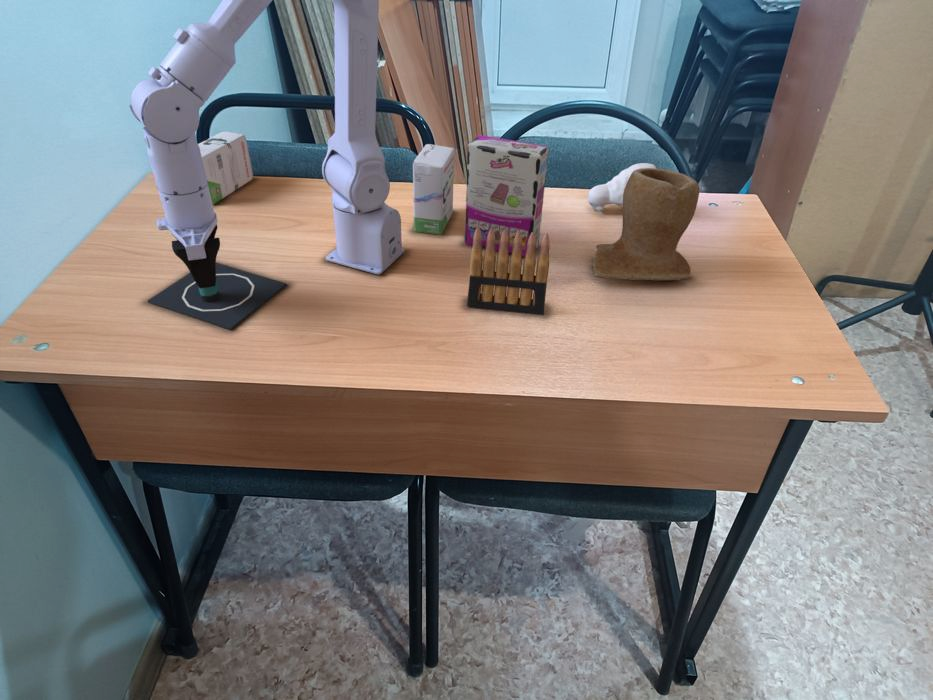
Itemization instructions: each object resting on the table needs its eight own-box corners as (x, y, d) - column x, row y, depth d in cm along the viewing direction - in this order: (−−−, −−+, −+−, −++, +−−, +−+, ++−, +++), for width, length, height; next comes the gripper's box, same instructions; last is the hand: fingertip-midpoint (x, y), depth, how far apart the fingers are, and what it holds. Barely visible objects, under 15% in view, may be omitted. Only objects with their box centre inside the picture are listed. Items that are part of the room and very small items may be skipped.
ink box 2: (442, 235, 105) (443, 166, 98) (412, 231, 106) (411, 162, 99) (453, 212, 112) (455, 145, 105) (426, 209, 113) (425, 142, 105)
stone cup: (675, 250, 104) (698, 160, 95) (695, 290, 95) (723, 195, 86) (581, 247, 104) (595, 156, 95) (592, 287, 95) (609, 191, 85)
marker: (223, 295, 89) (209, 237, 84) (211, 304, 88) (196, 245, 82) (209, 290, 90) (194, 233, 84) (197, 299, 88) (181, 241, 83)
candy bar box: (539, 245, 104) (551, 145, 94) (529, 260, 100) (541, 157, 90) (474, 231, 107) (479, 132, 97) (463, 244, 103) (466, 143, 93)
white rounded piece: (665, 171, 107) (593, 176, 107) (659, 218, 112) (590, 222, 112) (656, 156, 112) (586, 161, 112) (650, 201, 117) (583, 206, 117)
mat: (287, 285, 92) (286, 283, 92) (230, 330, 84) (230, 328, 84) (209, 261, 97) (208, 259, 96) (147, 302, 88) (147, 300, 88)
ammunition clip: (466, 307, 90) (469, 229, 82) (468, 299, 91) (471, 222, 84) (544, 315, 89) (554, 237, 81) (544, 307, 90) (554, 230, 83)
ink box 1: (189, 200, 112) (231, 176, 121) (214, 205, 111) (254, 180, 120) (178, 151, 107) (222, 129, 116) (203, 156, 105) (246, 134, 114)
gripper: (147, 165, 83) (173, 258, 91) (147, 215, 72) (176, 315, 81) (205, 159, 85) (225, 250, 93) (213, 207, 74) (235, 305, 83)
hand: (206, 280), depth 87 cm, fingers closed on marker, 2 cm apart
